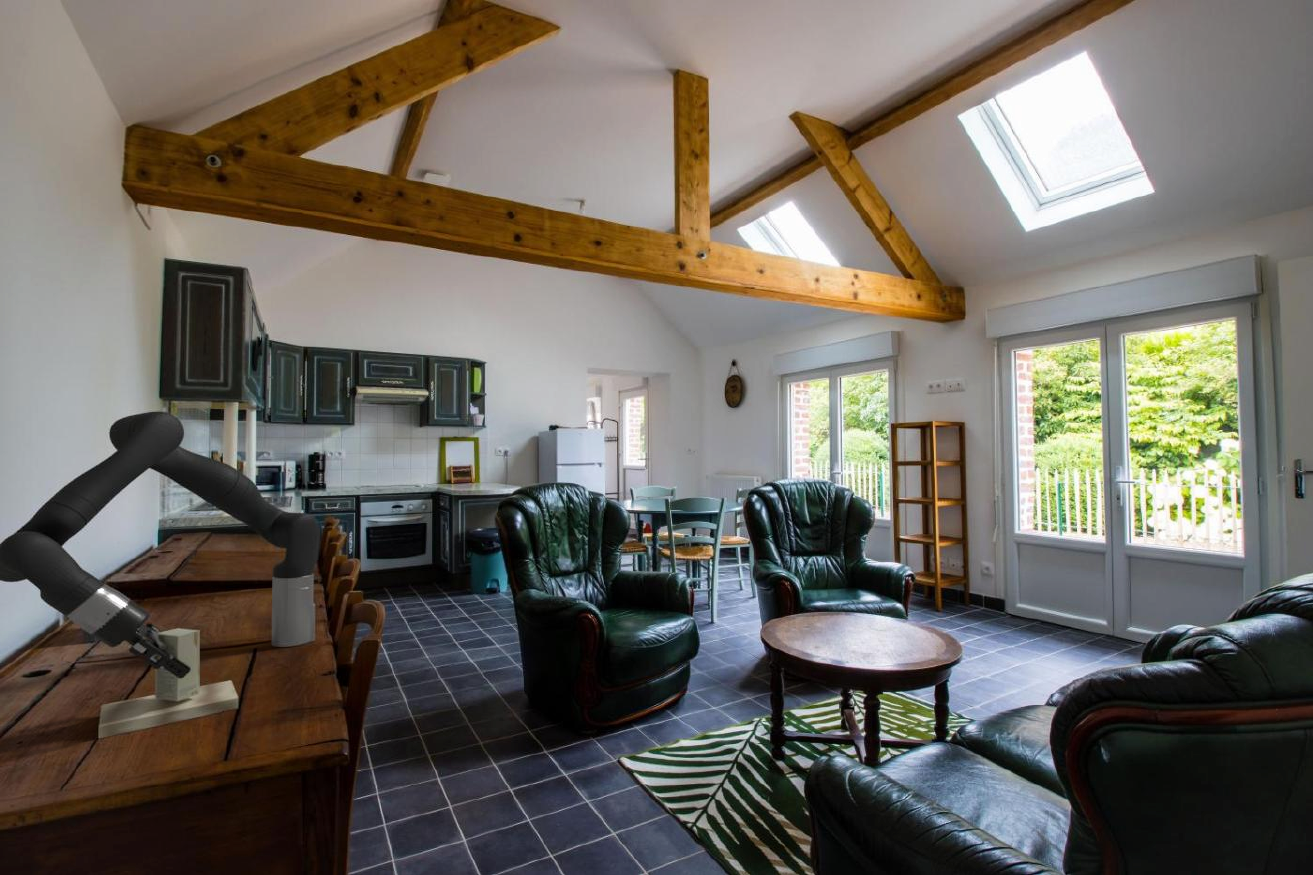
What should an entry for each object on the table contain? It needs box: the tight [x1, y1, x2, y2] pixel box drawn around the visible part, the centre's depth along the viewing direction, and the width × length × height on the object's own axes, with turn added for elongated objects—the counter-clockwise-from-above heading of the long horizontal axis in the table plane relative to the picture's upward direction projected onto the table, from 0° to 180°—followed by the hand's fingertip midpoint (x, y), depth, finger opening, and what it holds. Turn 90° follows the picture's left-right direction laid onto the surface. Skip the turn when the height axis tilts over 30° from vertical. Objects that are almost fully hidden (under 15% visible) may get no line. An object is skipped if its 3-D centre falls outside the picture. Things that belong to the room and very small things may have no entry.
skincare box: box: [154, 627, 201, 701], centre depth 119 cm, size 6×4×12 cm
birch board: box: [98, 680, 239, 739], centre depth 118 cm, size 20×12×2 cm, turn 130°
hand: (187, 667), depth 120 cm, fingers closed on skincare box, 7 cm apart
